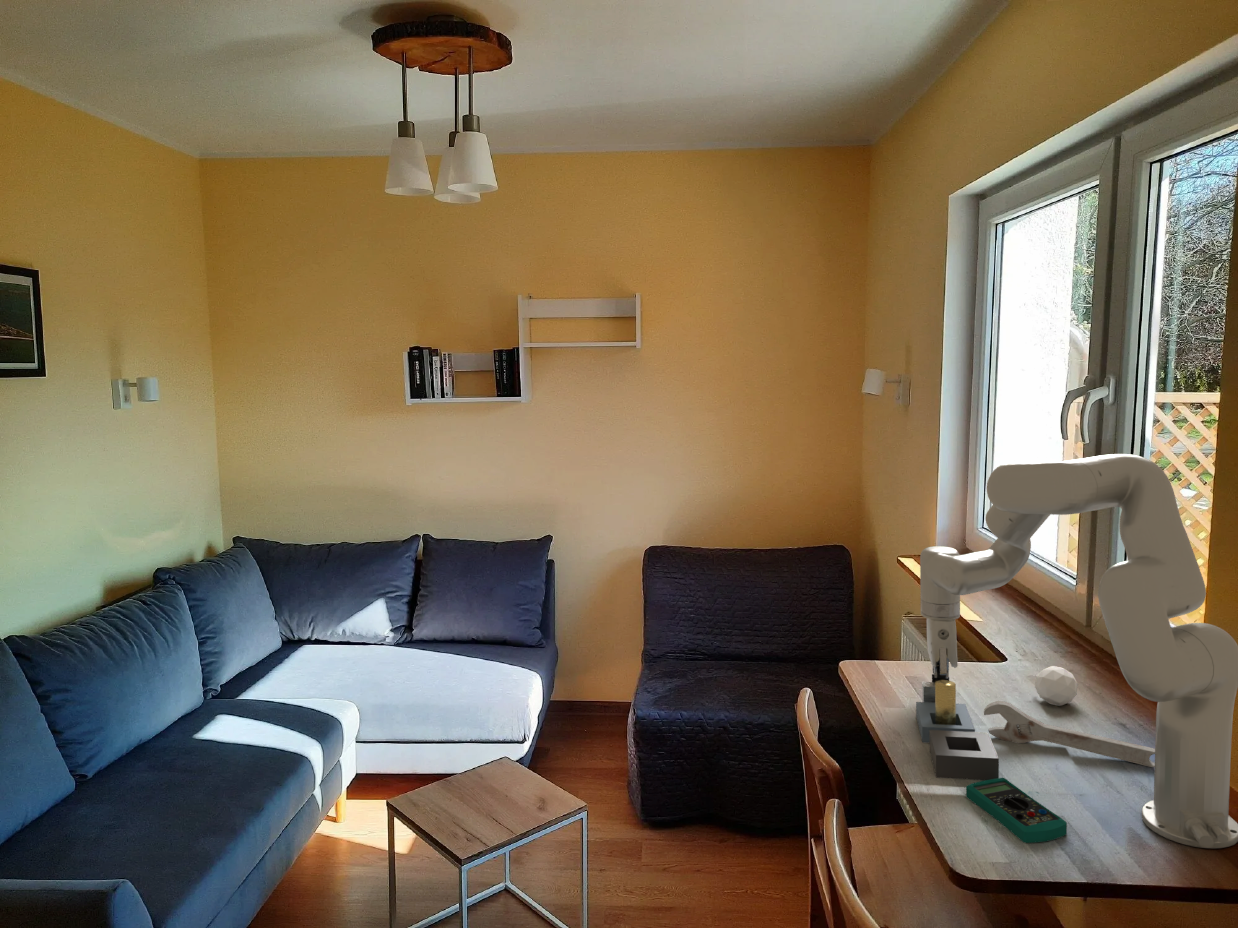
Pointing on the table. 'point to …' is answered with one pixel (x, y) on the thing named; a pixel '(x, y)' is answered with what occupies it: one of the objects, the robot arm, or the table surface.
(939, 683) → the peg
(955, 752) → the grey slotted block
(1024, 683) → the table surface
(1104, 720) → the table surface
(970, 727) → the socket block
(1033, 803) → the digital multimeter
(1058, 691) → the ball
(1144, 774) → the table surface
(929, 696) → the plug block
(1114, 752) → the wrench
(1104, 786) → the table surface
